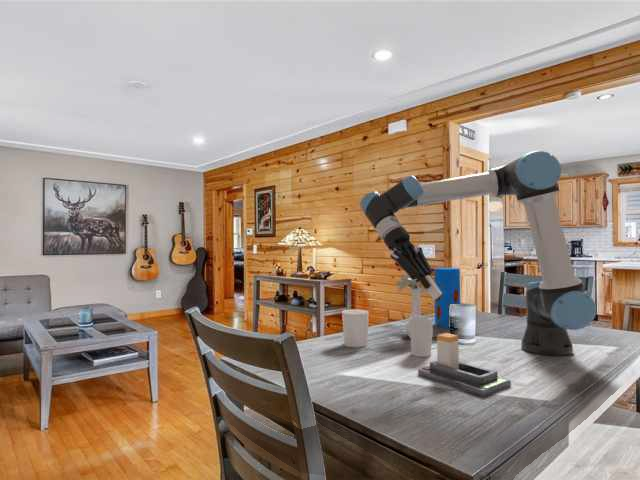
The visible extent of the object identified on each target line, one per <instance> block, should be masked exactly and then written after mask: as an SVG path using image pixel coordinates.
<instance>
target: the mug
mask: <svg viewBox="0 0 640 480" xmlns="http://www.w3.org/2000/svg"><path fill="white" fill-rule="evenodd" d="M409 319H410V328H411V338H410V347H411V348H410V350H411V352H410V353H411V355H412V356H414V357H418V358H428V357H431V356H432V342H433V335H434V326H433V322H432V317H430V316H423V315H421V316H414V317H411V316H410V317H409Z"/></svg>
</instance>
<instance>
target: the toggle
mask: <svg viewBox="0 0 640 480" xmlns="http://www.w3.org/2000/svg"><path fill="white" fill-rule="evenodd" d="M436 341H437V342H436V343H437V344H436V346H437V347H436V348H437V349H436V352H437V353H436V354H437V356H436V357H437V360H436V361H437V362H438V364H441V365H445V366H448V367H452V368H455V369H459V362H460V361H459V360H460V359H459V358H460V356H459V351H460V350H459V347H460V346H459V335H458V334H453V333H450V332H449V333H448V332H444V333H440V334H436Z"/></svg>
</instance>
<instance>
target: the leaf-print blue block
mask: <svg viewBox="0 0 640 480" xmlns="http://www.w3.org/2000/svg"><path fill="white" fill-rule="evenodd" d="M433 281H434V282H435V283H436V285H437V287H438V288H439V289H440V291H441V292H442V294H441V295H440V296H439V297H438V298H437V299H434V325H435V326H436V327H438V328H444V329H445V328H446V329H447V328H448V329H450V328H449V306H450V304H460V305H461V271H460V268H459V267H434V269H433Z"/></svg>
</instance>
